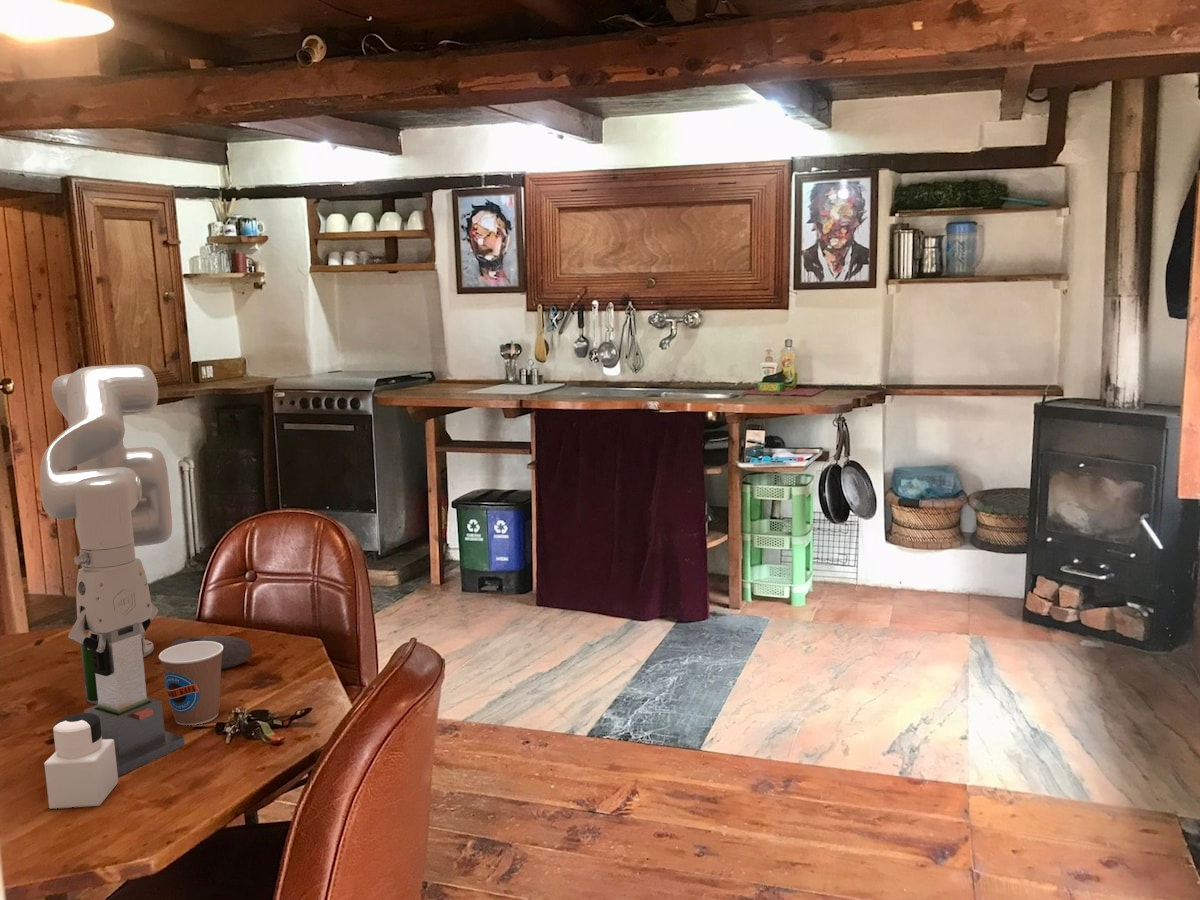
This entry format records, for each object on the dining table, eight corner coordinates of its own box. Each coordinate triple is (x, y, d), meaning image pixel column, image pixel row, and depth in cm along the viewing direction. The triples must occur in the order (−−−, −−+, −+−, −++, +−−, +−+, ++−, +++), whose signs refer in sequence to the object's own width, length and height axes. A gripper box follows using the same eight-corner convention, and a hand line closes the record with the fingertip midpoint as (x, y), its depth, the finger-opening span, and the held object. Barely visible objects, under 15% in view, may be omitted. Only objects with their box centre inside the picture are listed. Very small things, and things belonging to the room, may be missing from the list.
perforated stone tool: (252, 659, 202) (249, 626, 200) (253, 668, 197) (251, 634, 196) (170, 671, 196) (167, 637, 195) (170, 681, 191) (167, 646, 190)
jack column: (98, 717, 159) (89, 625, 157) (128, 705, 163) (119, 615, 161) (119, 723, 156) (110, 630, 154) (149, 711, 161) (140, 620, 159)
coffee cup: (151, 725, 171) (144, 658, 169) (194, 702, 181) (188, 638, 179) (199, 733, 168) (193, 664, 166) (241, 709, 177) (236, 644, 175)
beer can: (88, 707, 179) (81, 642, 178) (84, 697, 184) (78, 634, 182) (121, 700, 182) (115, 636, 180) (117, 690, 187) (110, 628, 185)
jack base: (69, 760, 159) (64, 712, 158) (137, 731, 169) (132, 685, 168) (117, 777, 153) (112, 727, 152) (184, 745, 163) (180, 698, 162)
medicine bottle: (69, 785, 150) (61, 709, 149) (119, 782, 151) (111, 706, 149) (48, 810, 143) (38, 730, 142) (100, 806, 144) (91, 727, 142)
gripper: (70, 572, 147) (83, 691, 150) (171, 546, 161) (181, 654, 164) (40, 566, 150) (53, 682, 153) (141, 541, 165) (151, 647, 168)
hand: (119, 667), depth 159 cm, fingers closed on jack column, 5 cm apart
